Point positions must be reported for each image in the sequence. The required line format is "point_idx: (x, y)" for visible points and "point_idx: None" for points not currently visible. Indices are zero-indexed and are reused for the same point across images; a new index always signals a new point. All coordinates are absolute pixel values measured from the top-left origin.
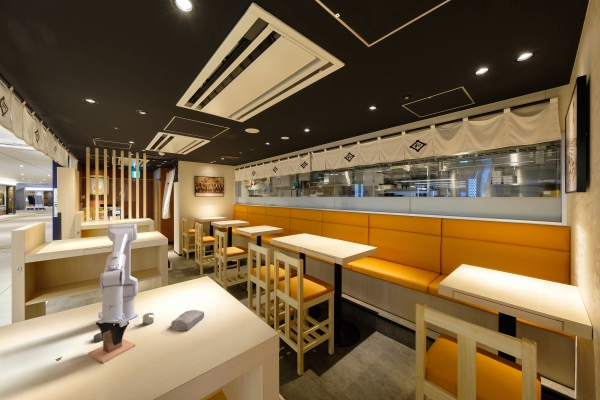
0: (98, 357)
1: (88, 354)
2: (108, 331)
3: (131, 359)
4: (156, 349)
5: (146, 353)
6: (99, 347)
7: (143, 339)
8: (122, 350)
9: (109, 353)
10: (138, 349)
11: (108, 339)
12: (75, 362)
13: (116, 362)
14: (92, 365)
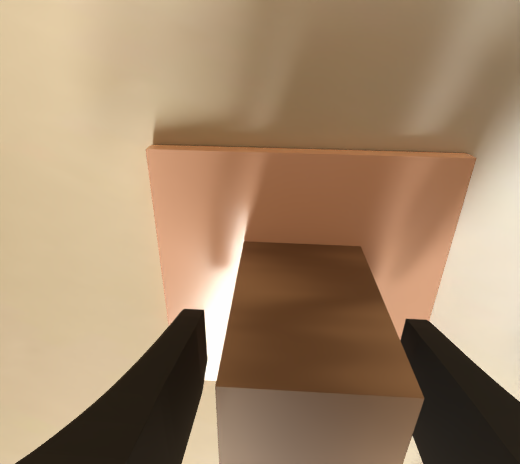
0: (267, 163)
1: (453, 154)
2: (389, 443)
3: (10, 269)
4: (3, 388)
5: (6, 345)
6: (444, 255)
7: None
8: (179, 304)
9: (238, 240)
10: (111, 352)
11: (247, 339)
12: (461, 15)
13: (65, 201)
14: (213, 78)
